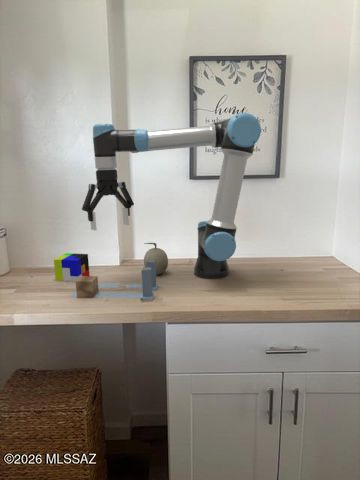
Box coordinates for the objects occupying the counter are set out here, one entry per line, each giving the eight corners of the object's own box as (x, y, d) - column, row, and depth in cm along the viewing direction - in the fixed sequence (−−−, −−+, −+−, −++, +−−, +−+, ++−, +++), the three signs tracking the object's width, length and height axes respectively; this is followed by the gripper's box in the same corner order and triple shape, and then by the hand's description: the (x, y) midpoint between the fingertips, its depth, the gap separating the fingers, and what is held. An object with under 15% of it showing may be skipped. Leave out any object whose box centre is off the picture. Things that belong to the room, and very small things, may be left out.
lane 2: (158, 286, 137) (157, 259, 135) (156, 290, 133) (155, 263, 130) (127, 285, 138) (126, 259, 136) (125, 290, 134) (123, 262, 131)
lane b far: (120, 285, 139) (120, 283, 138) (117, 290, 134) (117, 287, 134) (83, 285, 140) (83, 283, 140) (79, 289, 135) (78, 287, 135)
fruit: (168, 269, 159) (167, 237, 156) (168, 277, 148) (167, 243, 145) (145, 269, 159) (144, 237, 155) (143, 278, 148) (142, 243, 144)
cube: (98, 291, 130) (97, 276, 129) (93, 297, 124) (92, 281, 123) (82, 291, 131) (81, 275, 129) (76, 297, 125) (75, 281, 124)
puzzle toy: (78, 284, 142) (76, 260, 139) (56, 283, 144) (53, 259, 141) (89, 276, 151) (87, 254, 149) (68, 275, 153) (66, 253, 151)
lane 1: (154, 295, 128) (153, 266, 126) (152, 300, 123) (151, 270, 121) (74, 294, 131) (72, 265, 128) (69, 299, 126) (66, 270, 123)
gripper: (130, 168, 137) (133, 221, 141) (68, 170, 121) (74, 230, 126) (141, 168, 131) (143, 223, 136) (78, 170, 115) (83, 233, 120)
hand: (110, 227), depth 131 cm, fingers open, 13 cm apart
